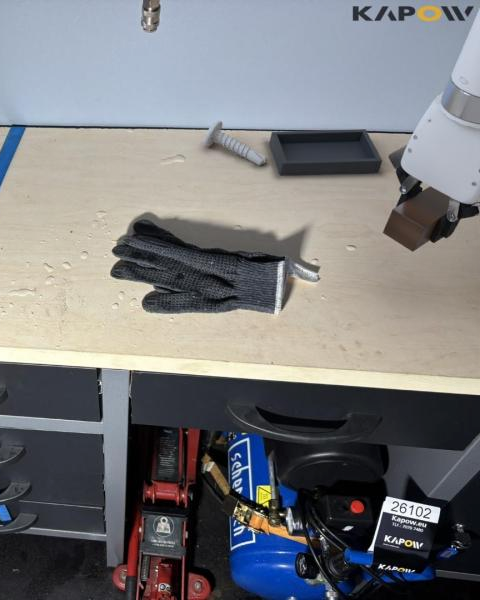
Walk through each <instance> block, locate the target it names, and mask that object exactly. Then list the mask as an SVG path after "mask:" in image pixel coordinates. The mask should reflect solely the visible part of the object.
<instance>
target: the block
mask: <svg viewBox="0 0 480 600" xmlns="http://www.w3.org/2000/svg"><path fill="white" fill-rule="evenodd" d="M449 201H450V197H449V196H447V195H446V194H444V193H442V192H440V191H438V190H436V189H434V188H433V187H431V186H428V187H427V188H425V189H422V192H420V193H418V194H417V195H415V196H413V197H412V198H410V199H408V200H407V201H405V202H403V203H402V204H400V205H399V206H397V207H396V206H394V208H392V209H391V212H390V214H389V217H388V218H387V221H386V224H385V226H384V229H383V231H382V234H384V235H385V236H387V237H388V238H389V239H392V240H393V241H395V242H396V243H398V244H399V245H401V246H402V247H404V248H406V249H407V250H409V251H411V252H415V251H416V250H418V249H419V248H421V247H423V246H424V245H425V244H427V243H429V242H431V241H430V237H431V235H432V233H433V231H434V229H435V227H436V225H437V223H438V221H439V220H440V218H441V217H442V216H443V215H445V214H446V213H447V211H448V206H449Z"/></svg>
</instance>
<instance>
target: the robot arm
mask: <svg viewBox="0 0 480 600" xmlns="http://www.w3.org/2000/svg"><path fill="white" fill-rule="evenodd" d="M388 159H389V161H390V163H391V165H392V167H393V169H395V174H396V177H397V180H398V183H399V184H400V186H399V188H398V191H399V193H401V194H400V196H399V199H398V201H397V203H396V205H395V207H397V206H399V205H400V204H402V203H403V202H405V201H407V200H408V199H410V198H412V197H413V196H415V195H417V194H418V193H420V192H422V191H423V190H424V188H423V187H422V186H421V185H422V184H423V183H424V184H426V185H427V186H428V187H430V186H431V187H433V188H434V189H436V190H438V191H440V192H442V193H444V194H446V195H447V196H449V197H450V201H449V206H448V211H447V213H446V214H445V215H443V216H442V217H441V218H440V220H439V221H438V223H437V225H436V227H435V229H434V231H433V233H432V235H431V237H430V241H429V242H431V243H432V244H435V243H437V242H439V241H440V240H442V239H448V238H449V237H451V236H452V235H453V233H455V230H456V228H457V227H458V225H459V224H460V221H461V220H463V219H468V218H474V217H476V216H480V201H478V200H479V199H480V8H478V11H477V13H476V15H475V18H474V20H473V23H472V25H471V27H470V30H469V32H468V35H467V37H466V39H465V41H464V43H463V46H462V48H461V50H460V53H459V56H458V58H457V60H456V62H455V65H454V68H453V70H452V72H451V74H450V76H449V79H448V81H447V84H446V85H445V88H444V91H442V92H441V93H440V94H438V95H437V96H436V97H435V98H434V99H433V101H432V102H431V104H430V105H429V106H428V108H427V109H426V111H425V112H424V114H423V115H422V117H421V119H419V122H418V124H417V125H416V127H415V128H414V131H413V133H412V135H411V137H410V139H409V140H408V142H407V144H406V145H403V146H402V147H399V148H398V149H397V150H394V151H392V152H391V153H389V154H388Z"/></svg>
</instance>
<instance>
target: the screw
mask: <svg viewBox="0 0 480 600" xmlns="http://www.w3.org/2000/svg"><path fill="white" fill-rule="evenodd" d="M222 129H223V121H222V120H218V121H216V122H214V123H212V124H211V126H210V127H209V128H208V130H206V133H205V137H204V146H205V147H207V148H209V147H211V146H212V145H213V144H214V143H215V144H217V143H218V145H219V146H223V148H227V151H231V153H235V154H236V155H237V156H238V155H239V156H240V158H244V160H246V159H247V160H248V161H250V162H252V163H254V164H255V165H257V166H261V165H263V164H265V163H266V156H265V155H263V154H261V153H260V152H258V151H256V150H254V149H253V148H251V146H247V144H246V143H245V144H243V142H242V141H238V139H234V136H232V137H231V136H230V134H228V135H227V134H226V132H222Z"/></svg>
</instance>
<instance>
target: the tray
mask: <svg viewBox="0 0 480 600" xmlns="http://www.w3.org/2000/svg"><path fill="white" fill-rule="evenodd" d="M269 147H270V151H271V153H272V156H273V159H274V162H275V165H276V168H277V172H278V174H279V176H310V175H311V176H313V175H349V174H350V175H352V174H354V175H355V174H379V171H380V168H381V165H382V163H383V158H382V157H381V156H380V154H379V151H378V149H377V148H376V146H375V144H374V142H373V140H372V139H371V137H370V135H369V133H368V131H367V129H365V128H364V129H361V128H360V129H329V130H328V129H326V130H294V131H271V134H270V139H269Z"/></svg>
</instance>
